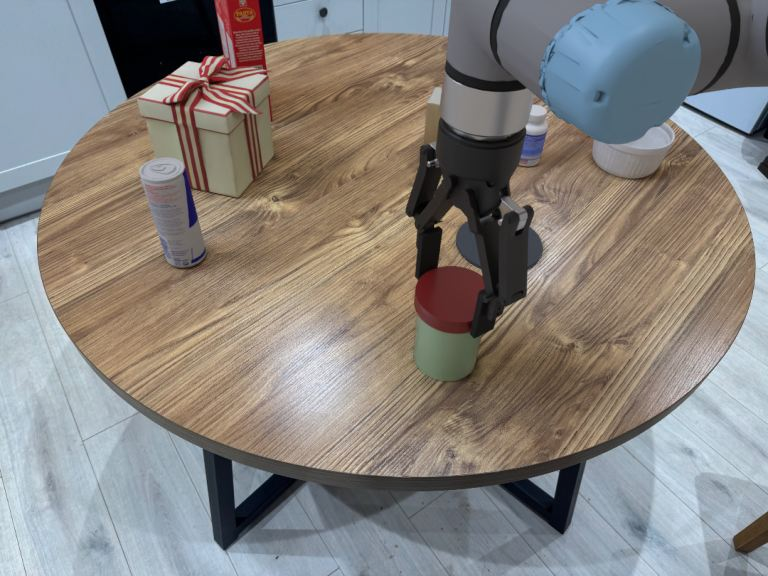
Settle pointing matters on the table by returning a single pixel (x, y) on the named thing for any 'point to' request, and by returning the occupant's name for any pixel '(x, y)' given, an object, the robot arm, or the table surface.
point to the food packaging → (242, 34)
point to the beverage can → (173, 211)
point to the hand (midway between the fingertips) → (452, 301)
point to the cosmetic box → (432, 116)
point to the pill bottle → (534, 137)
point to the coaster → (470, 251)
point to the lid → (448, 298)
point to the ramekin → (635, 153)
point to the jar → (444, 352)
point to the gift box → (212, 123)
